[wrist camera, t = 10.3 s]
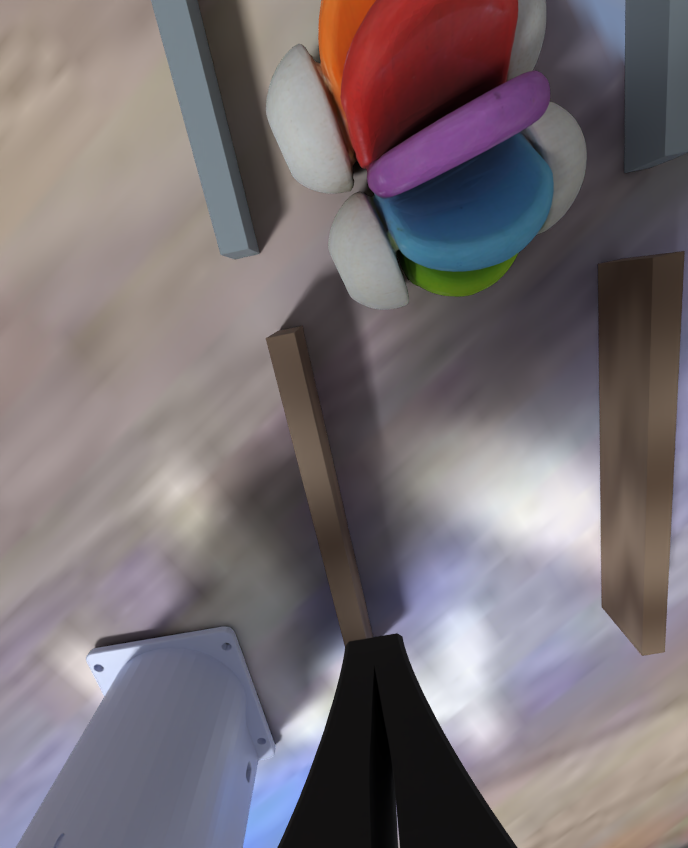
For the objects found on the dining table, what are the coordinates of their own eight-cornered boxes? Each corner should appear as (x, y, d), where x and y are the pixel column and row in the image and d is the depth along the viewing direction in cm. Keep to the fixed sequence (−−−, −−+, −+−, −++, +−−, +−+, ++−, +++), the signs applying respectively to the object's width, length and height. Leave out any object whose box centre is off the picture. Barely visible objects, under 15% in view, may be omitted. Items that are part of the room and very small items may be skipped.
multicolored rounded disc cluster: (476, -48, 13) (620, -411, 6) (562, 242, 16) (729, 203, 9) (251, 88, 14) (168, -98, 8) (367, 338, 17) (384, 369, 10)
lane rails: (621, 603, 21) (665, 652, 18) (356, 647, 22) (358, 699, 19) (623, 258, 16) (684, 251, 13) (278, 330, 17) (265, 338, 14)
